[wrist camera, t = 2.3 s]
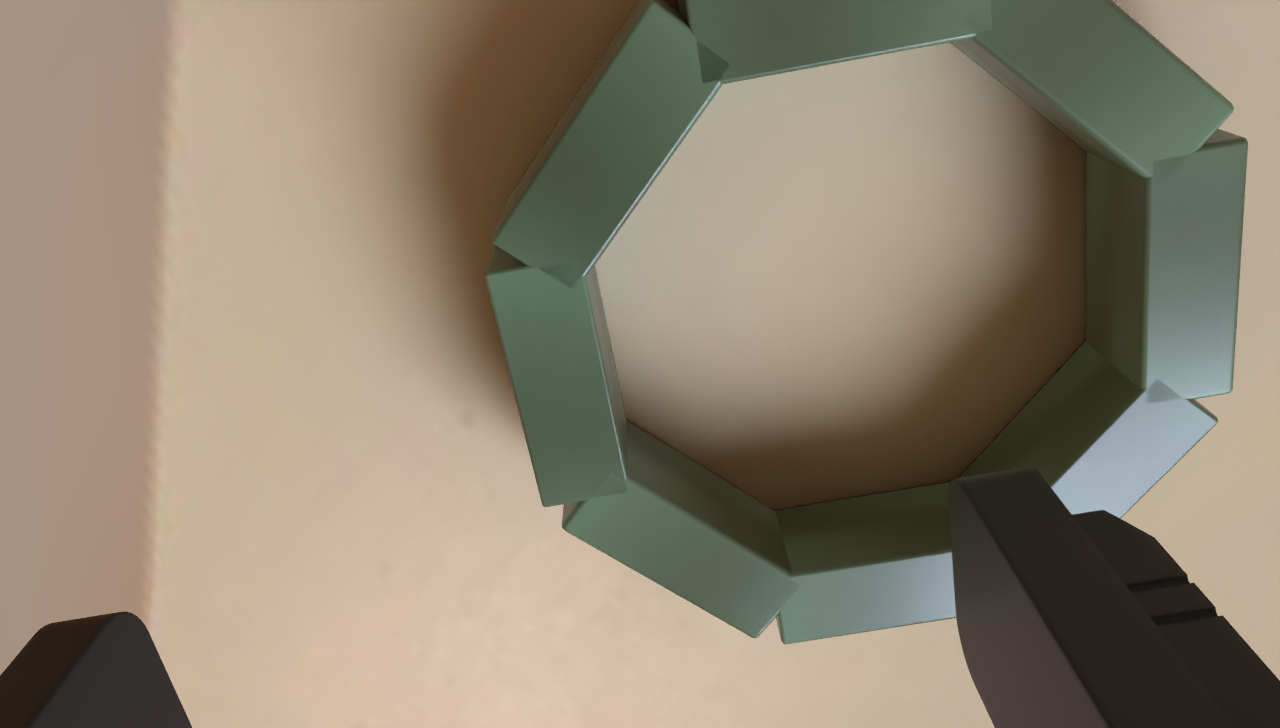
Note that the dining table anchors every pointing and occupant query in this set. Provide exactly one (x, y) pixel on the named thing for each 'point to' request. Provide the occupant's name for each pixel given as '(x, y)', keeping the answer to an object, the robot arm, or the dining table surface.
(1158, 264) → the ring
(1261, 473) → the dining table surface
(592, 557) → the dining table surface
